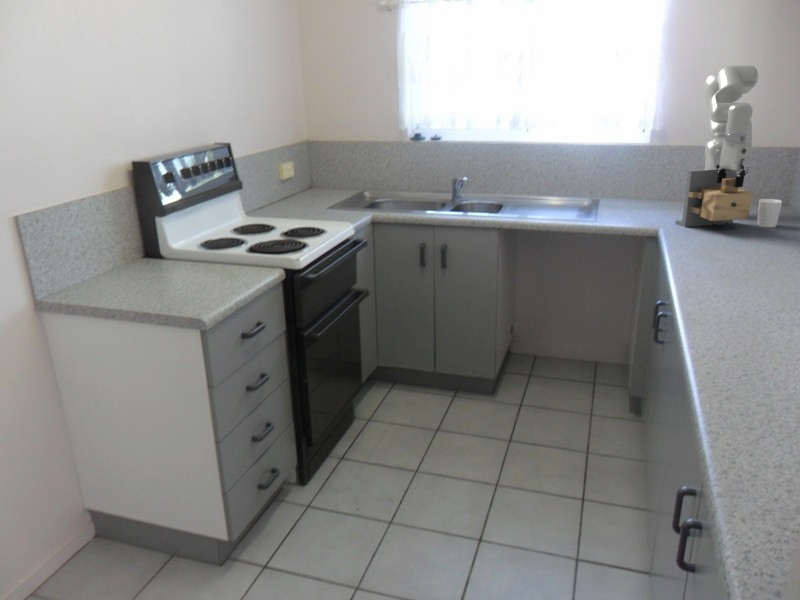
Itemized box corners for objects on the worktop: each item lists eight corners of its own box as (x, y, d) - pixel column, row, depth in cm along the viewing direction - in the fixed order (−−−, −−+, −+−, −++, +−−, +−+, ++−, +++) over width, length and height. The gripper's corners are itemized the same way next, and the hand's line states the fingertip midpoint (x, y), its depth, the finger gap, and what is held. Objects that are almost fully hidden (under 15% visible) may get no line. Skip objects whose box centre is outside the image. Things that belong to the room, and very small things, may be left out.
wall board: (675, 223, 267) (681, 169, 260) (722, 220, 271) (730, 166, 264) (691, 229, 257) (698, 172, 250) (740, 225, 262) (748, 169, 255)
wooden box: (693, 213, 260) (699, 175, 254) (728, 210, 263) (735, 173, 258) (713, 221, 249) (720, 182, 243) (749, 218, 252) (757, 180, 247)
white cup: (755, 227, 259) (759, 201, 256) (755, 222, 265) (759, 198, 262) (777, 228, 255) (782, 203, 252) (777, 224, 262) (781, 199, 259)
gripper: (761, 140, 238) (754, 188, 243) (728, 136, 253) (722, 180, 259) (743, 141, 236) (736, 189, 242) (711, 137, 252) (705, 182, 258)
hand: (729, 185), depth 250 cm, fingers open, 9 cm apart
